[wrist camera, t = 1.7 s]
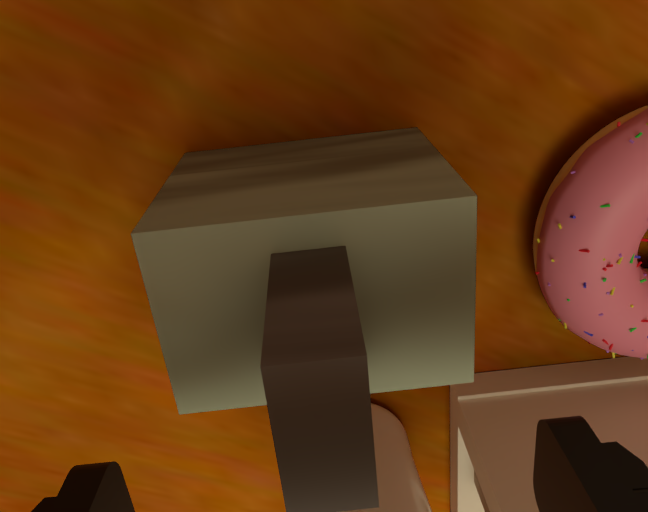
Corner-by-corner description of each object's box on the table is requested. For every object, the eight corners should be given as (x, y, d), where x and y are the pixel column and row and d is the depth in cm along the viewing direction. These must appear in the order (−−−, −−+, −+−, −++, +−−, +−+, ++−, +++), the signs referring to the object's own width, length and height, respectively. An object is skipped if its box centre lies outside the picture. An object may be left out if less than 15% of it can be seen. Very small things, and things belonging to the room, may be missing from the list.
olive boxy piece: (185, 152, 22) (57, 342, 10) (417, 127, 22) (557, 287, 10) (213, 288, 24) (137, 565, 13) (421, 265, 24) (537, 522, 13)
